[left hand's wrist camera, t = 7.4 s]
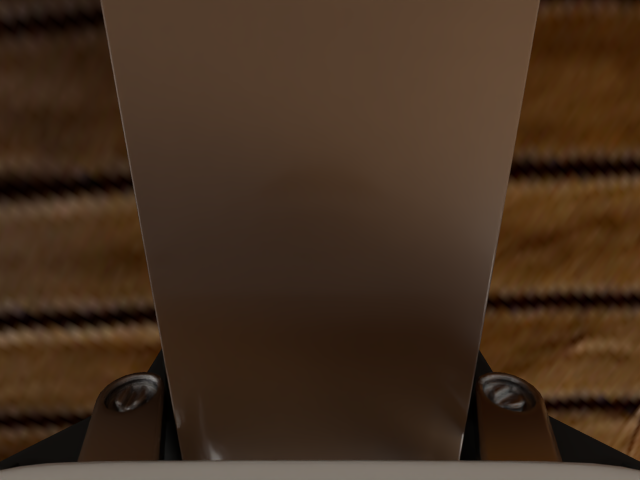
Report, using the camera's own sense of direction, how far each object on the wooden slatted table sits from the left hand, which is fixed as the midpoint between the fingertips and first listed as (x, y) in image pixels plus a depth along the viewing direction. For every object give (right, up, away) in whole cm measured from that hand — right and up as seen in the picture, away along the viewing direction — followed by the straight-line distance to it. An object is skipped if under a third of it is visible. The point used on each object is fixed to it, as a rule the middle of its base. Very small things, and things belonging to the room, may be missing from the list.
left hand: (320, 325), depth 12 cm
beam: (0, +21, -6) cm, 22 cm away
